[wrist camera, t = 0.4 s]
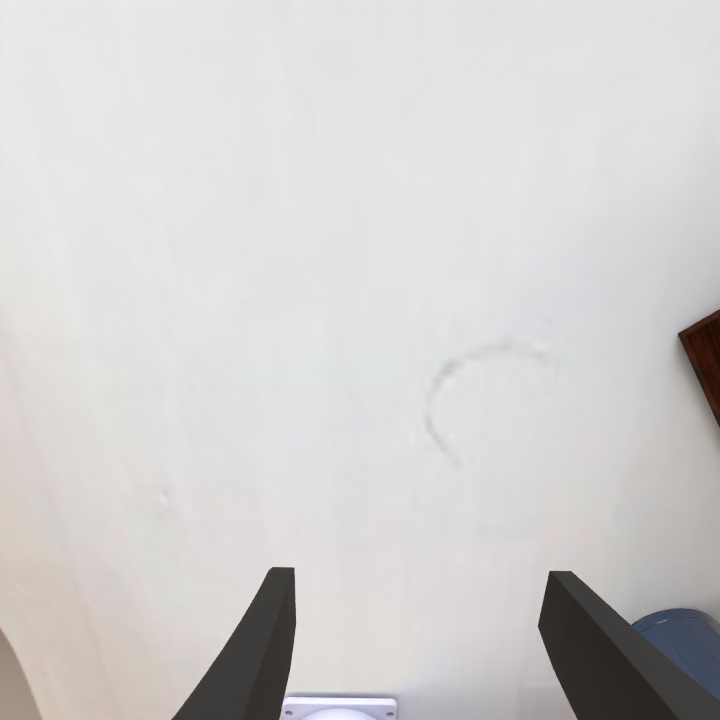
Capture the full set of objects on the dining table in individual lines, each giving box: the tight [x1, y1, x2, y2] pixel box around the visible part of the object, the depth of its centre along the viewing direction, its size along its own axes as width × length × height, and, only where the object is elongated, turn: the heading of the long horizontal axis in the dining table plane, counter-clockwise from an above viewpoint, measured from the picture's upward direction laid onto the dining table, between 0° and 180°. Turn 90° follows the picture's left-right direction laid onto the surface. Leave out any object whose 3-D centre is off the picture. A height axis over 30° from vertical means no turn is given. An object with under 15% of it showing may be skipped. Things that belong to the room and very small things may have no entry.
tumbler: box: [631, 609, 720, 701], centre depth 22 cm, size 8×8×6 cm
